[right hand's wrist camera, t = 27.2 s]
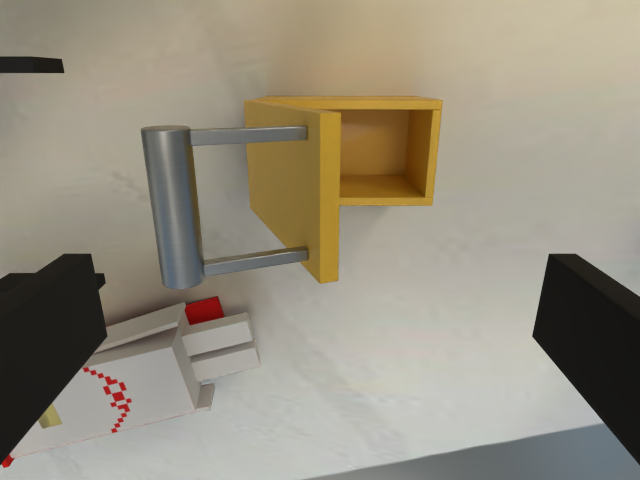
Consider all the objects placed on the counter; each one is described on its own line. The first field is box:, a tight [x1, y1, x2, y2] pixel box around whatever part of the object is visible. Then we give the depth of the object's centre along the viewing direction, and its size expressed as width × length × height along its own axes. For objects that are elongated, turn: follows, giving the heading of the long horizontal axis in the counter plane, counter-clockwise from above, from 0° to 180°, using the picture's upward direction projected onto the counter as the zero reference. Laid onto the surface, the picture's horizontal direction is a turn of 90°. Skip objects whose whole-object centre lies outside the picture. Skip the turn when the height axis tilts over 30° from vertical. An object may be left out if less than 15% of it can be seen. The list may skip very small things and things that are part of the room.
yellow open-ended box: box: [254, 96, 442, 206], centre depth 41 cm, size 16×9×10 cm, turn 90°
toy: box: [2, 296, 260, 468], centre depth 50 cm, size 12×13×30 cm
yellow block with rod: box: [141, 100, 341, 289], centre depth 28 cm, size 16×9×9 cm
